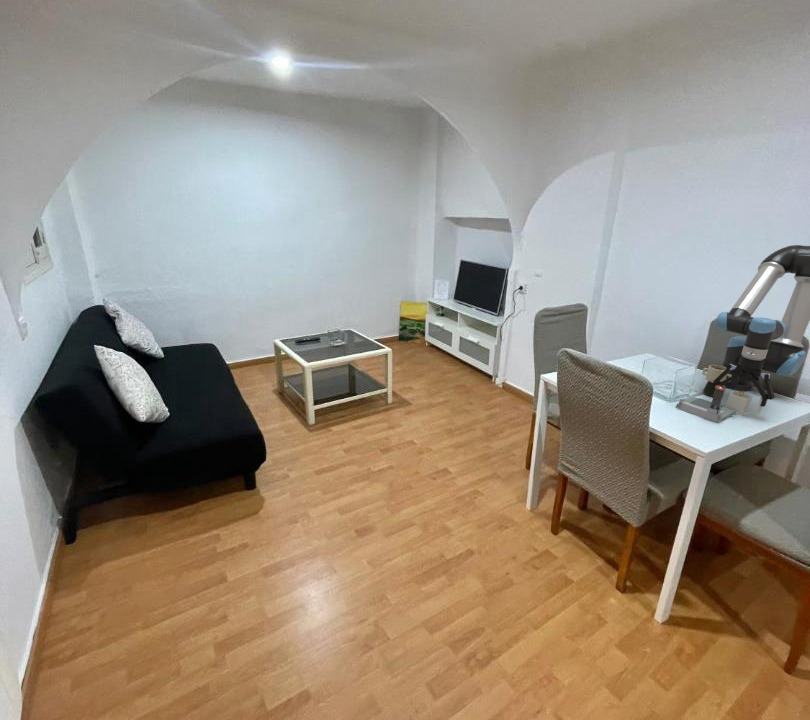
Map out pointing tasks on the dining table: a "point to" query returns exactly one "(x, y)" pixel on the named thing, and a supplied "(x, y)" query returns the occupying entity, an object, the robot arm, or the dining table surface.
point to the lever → (716, 400)
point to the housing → (739, 402)
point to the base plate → (704, 409)
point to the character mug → (713, 377)
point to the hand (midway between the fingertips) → (737, 406)
